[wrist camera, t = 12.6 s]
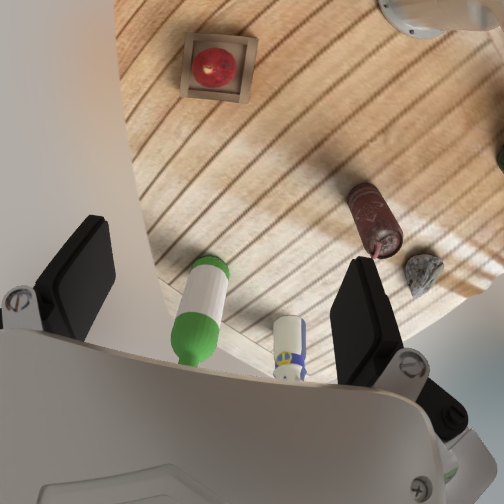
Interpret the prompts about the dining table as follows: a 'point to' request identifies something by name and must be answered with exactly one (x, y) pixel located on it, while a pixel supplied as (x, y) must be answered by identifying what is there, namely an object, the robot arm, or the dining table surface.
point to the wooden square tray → (245, 61)
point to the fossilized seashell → (422, 273)
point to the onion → (214, 67)
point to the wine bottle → (200, 311)
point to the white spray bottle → (289, 348)
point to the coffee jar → (501, 159)
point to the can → (375, 222)
